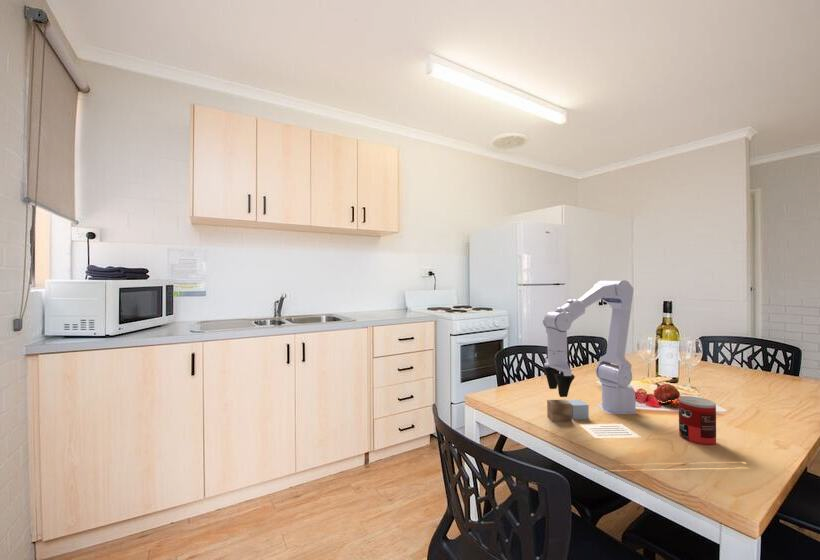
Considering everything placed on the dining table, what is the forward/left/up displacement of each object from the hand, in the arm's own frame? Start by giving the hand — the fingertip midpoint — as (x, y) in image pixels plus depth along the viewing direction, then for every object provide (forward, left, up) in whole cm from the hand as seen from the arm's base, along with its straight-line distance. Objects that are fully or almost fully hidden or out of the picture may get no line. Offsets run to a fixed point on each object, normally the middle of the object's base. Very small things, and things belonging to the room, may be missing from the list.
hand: (557, 392), depth 111 cm
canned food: (-32, +15, -9) cm, 36 cm away
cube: (-7, -2, -9) cm, 12 cm away
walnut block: (0, 0, -9) cm, 9 cm away
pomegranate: (-44, -12, -9) cm, 46 cm away
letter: (-11, +9, -9) cm, 17 cm away
